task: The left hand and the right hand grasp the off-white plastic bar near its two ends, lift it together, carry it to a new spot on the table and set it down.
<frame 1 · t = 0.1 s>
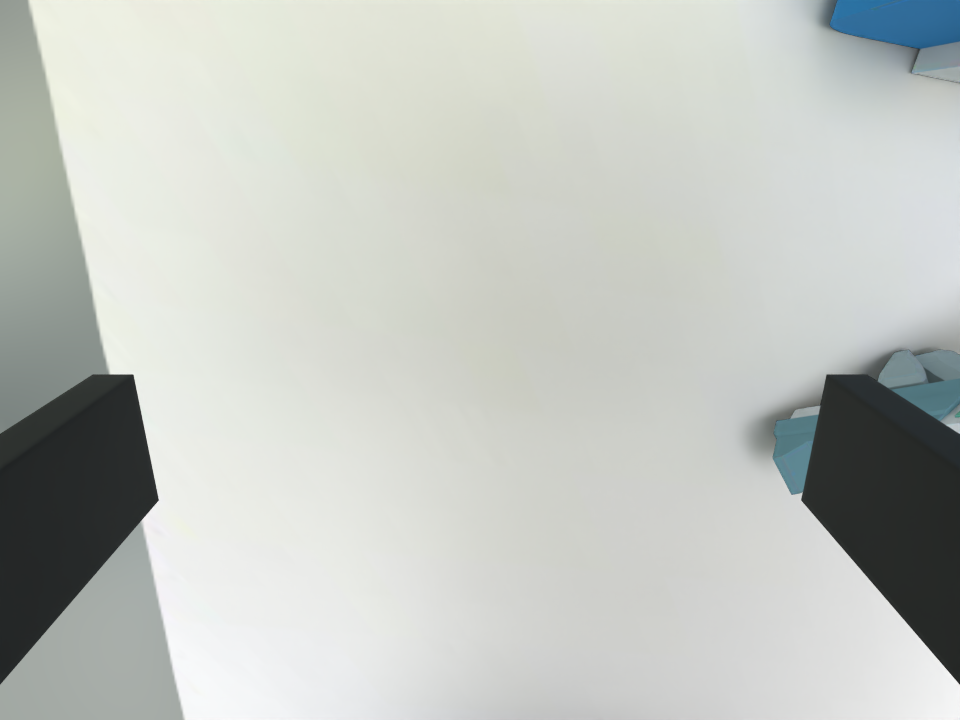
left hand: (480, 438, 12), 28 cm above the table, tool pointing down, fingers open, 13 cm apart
toy gun: (877, 381, 42), on the table
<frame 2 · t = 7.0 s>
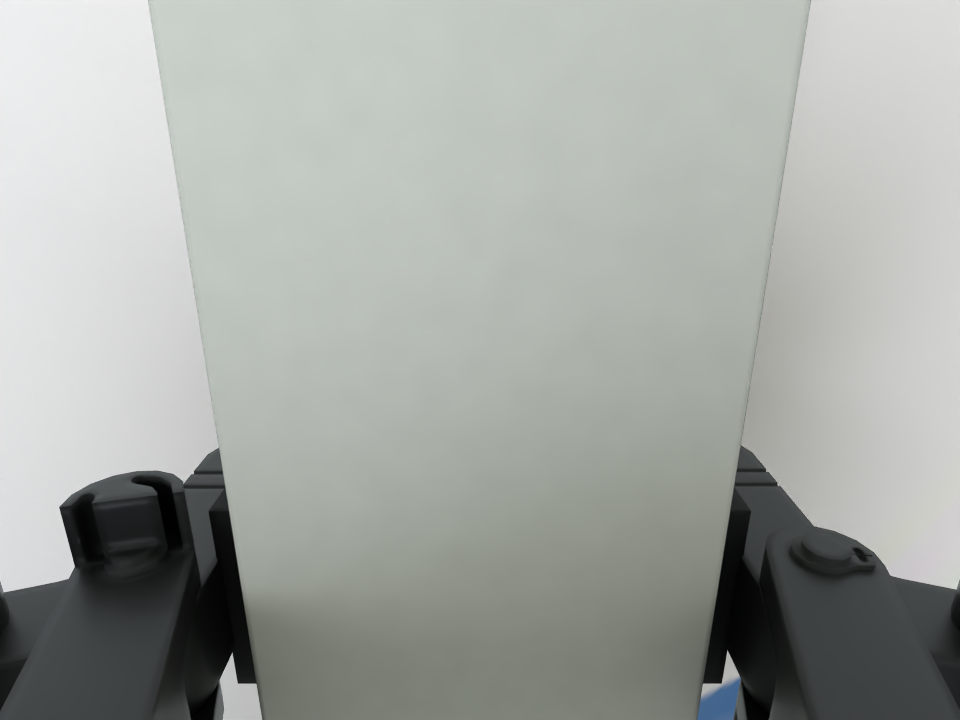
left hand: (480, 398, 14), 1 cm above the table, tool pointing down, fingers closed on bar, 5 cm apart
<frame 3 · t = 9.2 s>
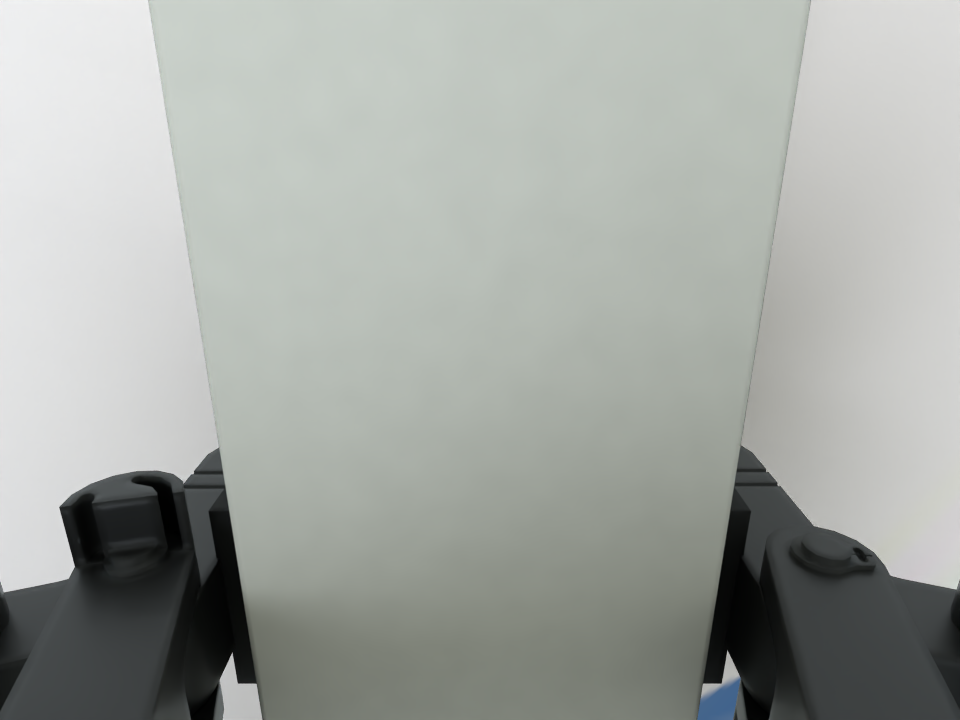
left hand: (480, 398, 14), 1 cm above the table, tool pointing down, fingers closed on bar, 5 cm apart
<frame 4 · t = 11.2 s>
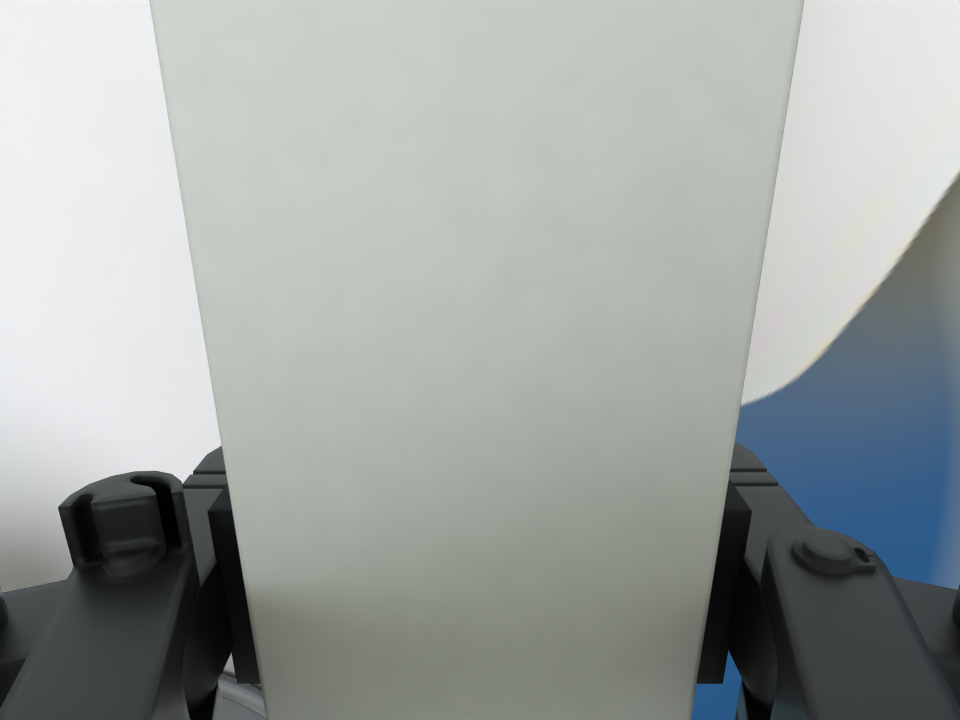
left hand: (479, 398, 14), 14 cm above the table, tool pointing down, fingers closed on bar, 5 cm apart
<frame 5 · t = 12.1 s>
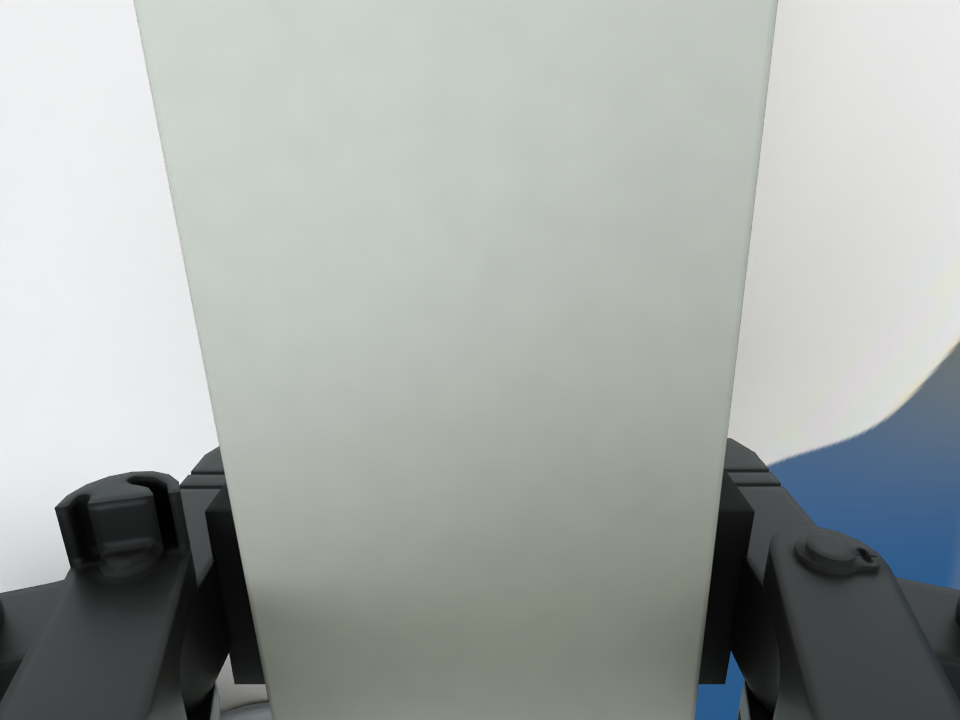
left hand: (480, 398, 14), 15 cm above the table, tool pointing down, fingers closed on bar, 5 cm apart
when the left hand's fingers open (2 cm above the table, at t = 15.2 s): bar stays where it is, on the table.
when the right hand's fingers open (5 cm above the table, at t = 15.4 s): bar stays where it is, on the table.
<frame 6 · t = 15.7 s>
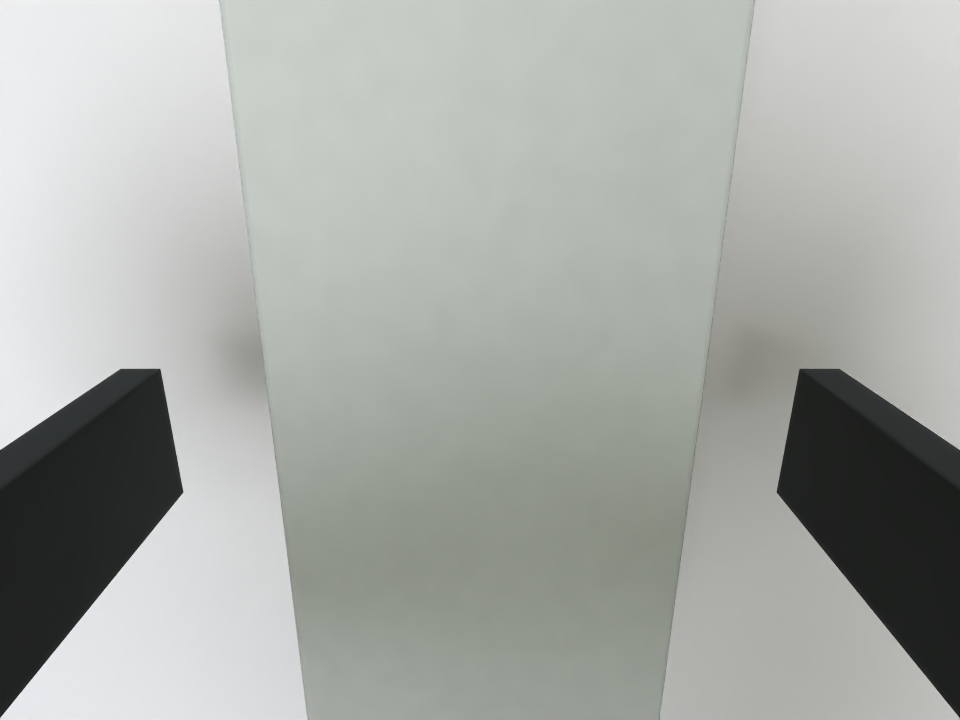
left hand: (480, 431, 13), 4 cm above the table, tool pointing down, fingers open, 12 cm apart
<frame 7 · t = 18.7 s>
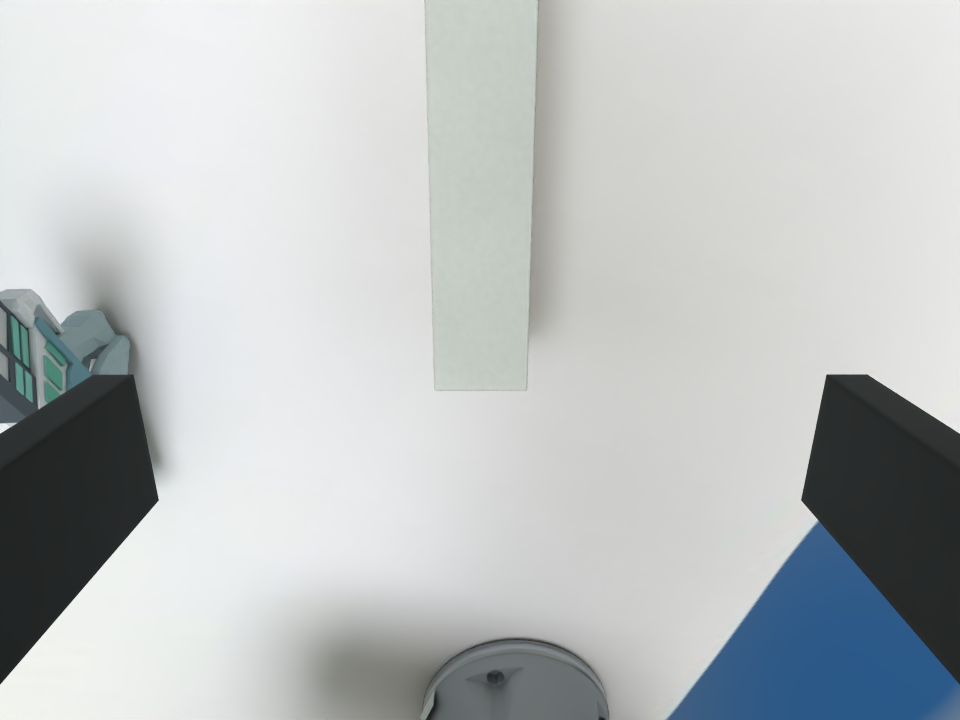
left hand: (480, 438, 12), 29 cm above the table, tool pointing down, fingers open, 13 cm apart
toy gun: (114, 364, 42), on the table
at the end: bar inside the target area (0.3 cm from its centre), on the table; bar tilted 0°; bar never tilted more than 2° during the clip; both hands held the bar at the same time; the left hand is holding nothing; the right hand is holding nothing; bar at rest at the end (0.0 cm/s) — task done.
